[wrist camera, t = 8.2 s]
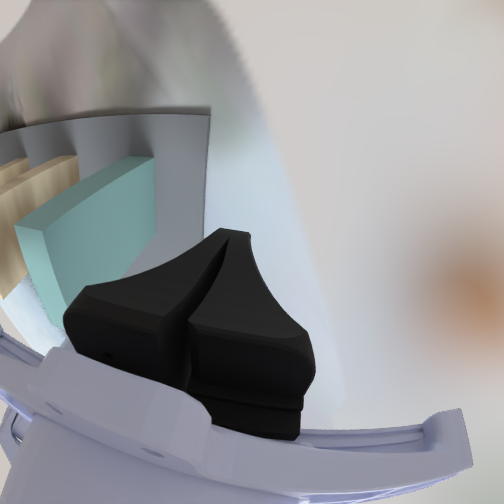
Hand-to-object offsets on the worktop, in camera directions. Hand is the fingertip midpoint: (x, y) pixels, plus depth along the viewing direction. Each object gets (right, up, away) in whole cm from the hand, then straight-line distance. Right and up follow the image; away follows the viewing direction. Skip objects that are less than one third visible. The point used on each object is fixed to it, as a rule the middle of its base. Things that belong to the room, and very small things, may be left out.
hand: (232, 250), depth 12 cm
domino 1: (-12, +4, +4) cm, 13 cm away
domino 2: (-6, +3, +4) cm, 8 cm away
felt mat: (-17, +4, +6) cm, 19 cm away
